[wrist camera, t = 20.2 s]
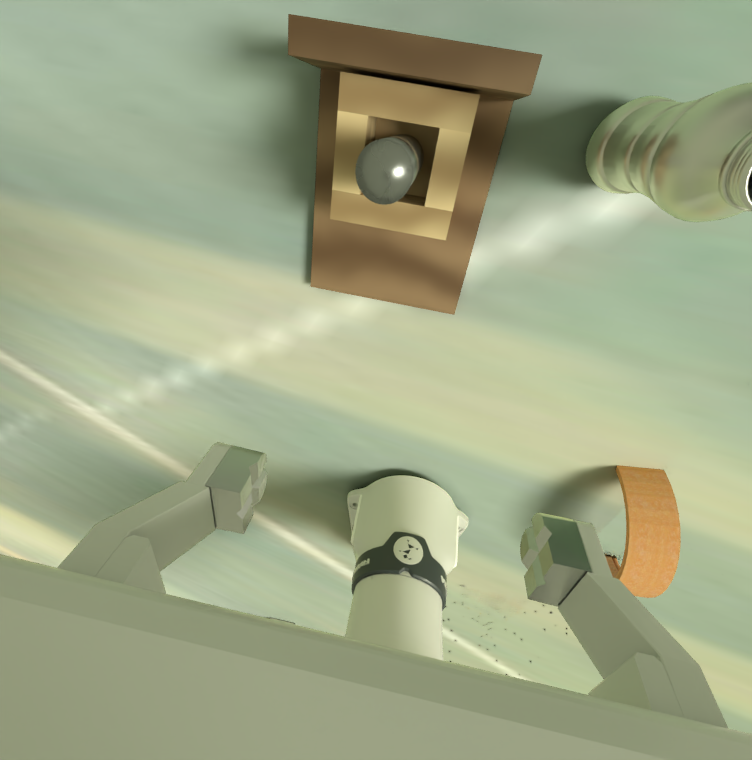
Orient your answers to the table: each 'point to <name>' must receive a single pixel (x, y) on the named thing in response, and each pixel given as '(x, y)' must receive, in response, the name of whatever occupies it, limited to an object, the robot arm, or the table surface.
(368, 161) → the dowel
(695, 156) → the plastic bottle
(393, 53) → the jig
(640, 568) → the arch
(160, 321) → the table surface
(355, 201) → the tan square frame
